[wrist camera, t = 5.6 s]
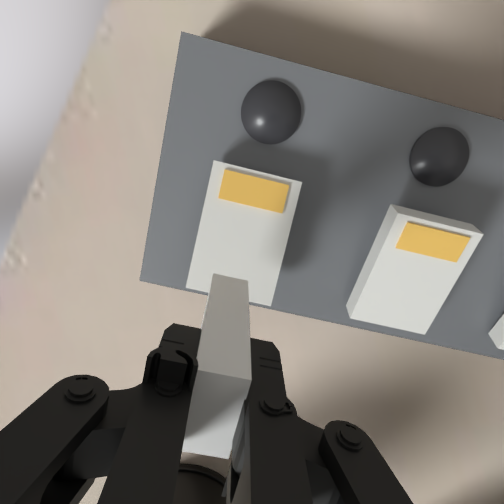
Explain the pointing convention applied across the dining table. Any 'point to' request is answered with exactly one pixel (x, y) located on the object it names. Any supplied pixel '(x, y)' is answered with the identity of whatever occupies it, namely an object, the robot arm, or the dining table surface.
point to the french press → (198, 486)
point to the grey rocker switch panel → (330, 180)
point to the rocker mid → (411, 269)
